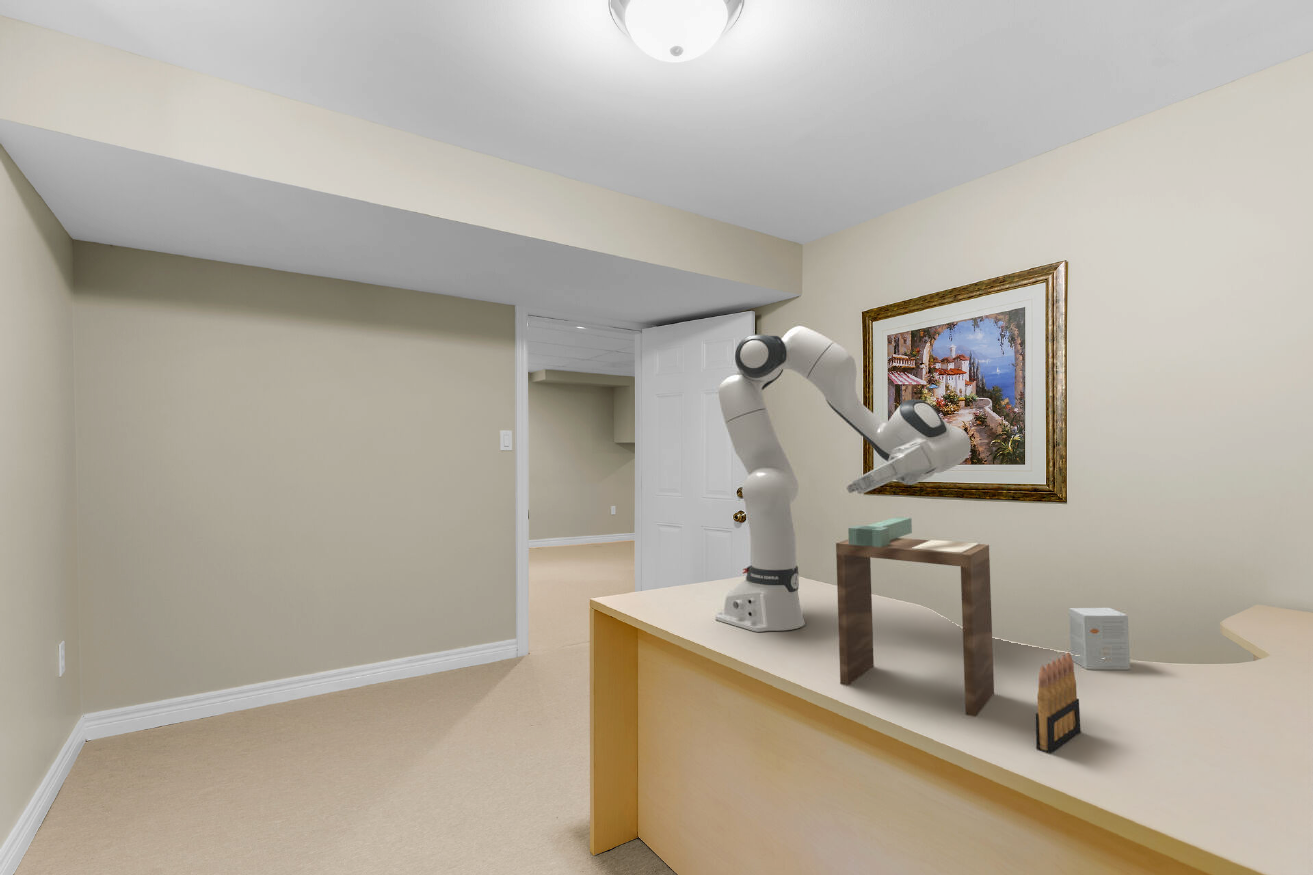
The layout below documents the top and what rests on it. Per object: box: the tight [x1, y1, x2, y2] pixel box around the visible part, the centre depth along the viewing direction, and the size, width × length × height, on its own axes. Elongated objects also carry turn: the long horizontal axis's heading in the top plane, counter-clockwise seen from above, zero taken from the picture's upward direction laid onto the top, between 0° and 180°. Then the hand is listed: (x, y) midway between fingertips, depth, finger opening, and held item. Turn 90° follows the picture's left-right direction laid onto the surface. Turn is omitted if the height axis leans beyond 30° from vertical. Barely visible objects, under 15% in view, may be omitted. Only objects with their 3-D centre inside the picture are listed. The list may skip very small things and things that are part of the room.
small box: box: [1068, 607, 1131, 671], centre depth 120 cm, size 8×6×10 cm
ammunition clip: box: [1035, 652, 1082, 754], centre depth 91 cm, size 11×2×12 cm, turn 126°
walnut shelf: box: [835, 537, 995, 718], centre depth 112 cm, size 23×12×26 cm, turn 49°
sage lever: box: [847, 516, 913, 547], centre depth 119 cm, size 6×20×3 cm, turn 139°
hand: (860, 483), depth 134 cm, fingers open, 8 cm apart
